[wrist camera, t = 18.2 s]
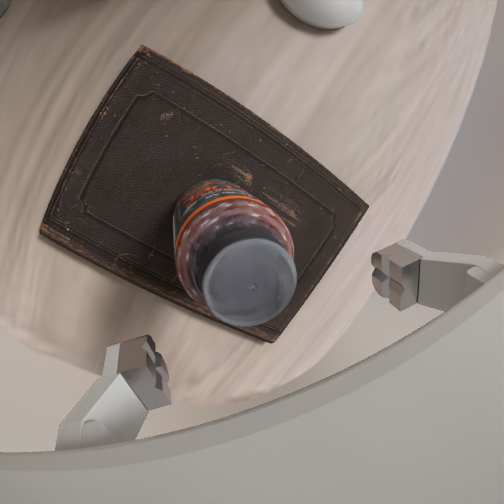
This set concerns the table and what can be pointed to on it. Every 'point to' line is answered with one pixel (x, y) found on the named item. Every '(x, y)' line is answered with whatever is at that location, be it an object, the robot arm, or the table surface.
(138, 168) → the hardcover book
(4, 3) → the coffeepot
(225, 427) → the robot arm
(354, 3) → the white glossy disc
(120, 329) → the table surface
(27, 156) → the table surface
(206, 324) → the table surface
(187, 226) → the supplement bottle
